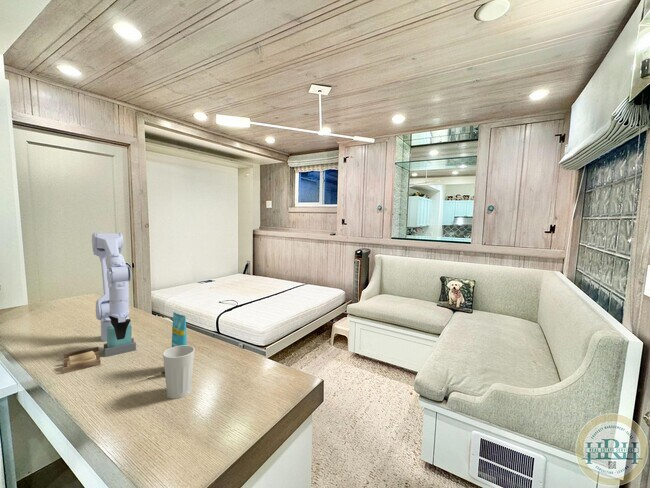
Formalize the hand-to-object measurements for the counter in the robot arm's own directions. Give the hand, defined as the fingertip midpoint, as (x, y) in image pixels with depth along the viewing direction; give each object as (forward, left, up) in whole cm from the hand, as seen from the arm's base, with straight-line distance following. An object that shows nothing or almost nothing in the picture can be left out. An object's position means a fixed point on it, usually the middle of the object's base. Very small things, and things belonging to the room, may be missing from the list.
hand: (119, 336), depth 102 cm
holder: (0, 0, -6) cm, 6 cm away
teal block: (0, 0, -5) cm, 5 cm away
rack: (+10, +3, -6) cm, 12 cm away
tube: (-13, +27, -6) cm, 31 cm away
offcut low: (+10, +6, -5) cm, 13 cm away
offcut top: (+10, +6, -3) cm, 13 cm away
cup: (-10, +39, -6) cm, 41 cm away
